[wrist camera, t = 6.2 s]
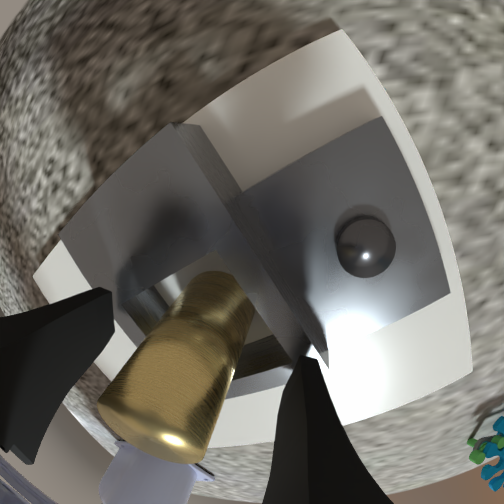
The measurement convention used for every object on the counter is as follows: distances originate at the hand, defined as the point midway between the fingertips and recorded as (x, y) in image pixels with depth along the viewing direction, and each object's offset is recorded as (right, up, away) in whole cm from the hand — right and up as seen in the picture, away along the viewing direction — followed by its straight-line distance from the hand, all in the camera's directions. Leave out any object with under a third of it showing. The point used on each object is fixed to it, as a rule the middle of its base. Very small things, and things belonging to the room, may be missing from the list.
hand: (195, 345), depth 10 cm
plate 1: (0, +2, +2) cm, 3 cm away
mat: (+1, -1, +4) cm, 5 cm away
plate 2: (+3, +2, +2) cm, 4 cm away
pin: (0, +1, +3) cm, 3 cm away
